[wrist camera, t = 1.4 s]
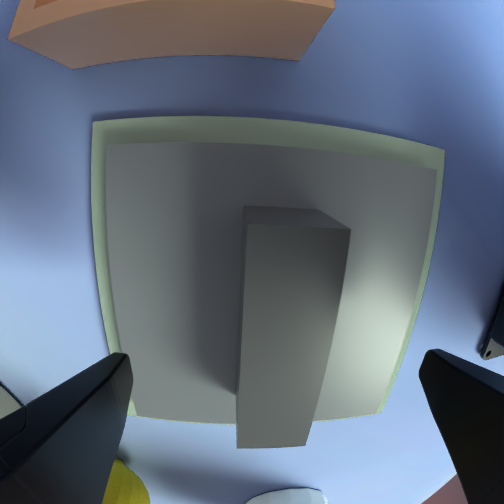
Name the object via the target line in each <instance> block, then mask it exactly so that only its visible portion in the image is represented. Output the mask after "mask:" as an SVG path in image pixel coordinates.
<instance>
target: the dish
mask: <svg viewBox="0 0 504 504" xmlns="http://www.w3.org/2000/svg"><path fill="white" fill-rule="evenodd" d="M334 9H335V0H20V2H19V5H18V8H17V11H16V14H15V17H14V20H13V23H12V26H11V30H10V33H9V37H8V40H9V41H12V42H14V43H16V44H19V45H21V46H23V47H26V48H28V49H30V50H32V51H35V52H37V53H39V54H41V55H43V56H46V57H48V58H50V59H52V60H54V61H56V62H58V63H60V64H62V65H64V66H66V67H69V68H71V69H78V68H83V67H88V66H93V65H99V64H105V63H111V62H118V61H125V60H134V59H143V58H154V57H168V56H190V55H228V56H250V57H265V58H276V59H285V60H294V61H299V60H300V58H301V57H302V55H303V54H304V52H305V51H306V49H307V48H308V46H309V45H310V43H311V42H312V41H313V39H314V38H315V36H316V35H317V33H318V32H319V30H320V29H321V28H322V26H323V25H324V23H325V22H326V20H327V19H328V18H329V16H330V15H331V13H332V12H333V11H334Z"/></svg>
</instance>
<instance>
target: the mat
mask: <svg viewBox="0 0 504 504" xmlns="http://www.w3.org/2000/svg"><path fill="white" fill-rule="evenodd" d="M158 142H214V143H242V144H260V145H274V146H286V147H297V148H307V149H317V150H325V151H333V152H341V153H348V154H355V155H362V156H368V157H375V158H381V159H386V160H392V161H397V162H403V163H408V164H413V165H418V166H422V167H427V168H431V169H436V170H437V178H436V188H435V197H434V205H433V213H432V220H431V226H430V232H429V238H428V244H427V249H426V254H425V259H424V264H423V269H422V274H421V278H420V282H419V287H418V291H417V295H416V299H415V302H414V306H413V310H412V313H411V317H410V321H409V324H408V327H407V331H406V334H405V337H404V340H403V343H402V346H401V349H400V352H399V355H398V358H397V361H396V364H395V367H394V370H393V372H392V375H391V378H390V380H389V383H388V385H387V388H386V391H385V393H384V396H383V398H382V400H381V403H380V405H379V408H378V410H377V412H376V413H375V414H379V413H382V411H383V408H384V406H385V404H386V401H387V399H388V397H389V394H390V392H391V389H392V387H393V384H394V382H395V379H396V377H397V374H398V372H399V369H400V366H401V363H402V361H403V358H404V355H405V352H406V349H407V346H408V343H409V340H410V337H411V334H412V331H413V328H414V324H415V321H416V318H417V314H418V311H419V307H420V303H421V300H422V296H423V292H424V288H425V284H426V280H427V275H428V271H429V266H430V262H431V257H432V252H433V246H434V241H435V235H436V229H437V223H438V216H439V209H440V202H441V193H442V184H443V173H444V159H445V149H441V148H438V147H434V146H430V145H426V144H422V143H418V142H414V141H410V140H406V139H401V138H397V137H392V136H388V135H383V134H378V133H373V132H367V131H362V130H356V129H350V128H344V127H337V126H331V125H324V124H316V123H308V122H299V121H289V120H279V119H266V118H251V117H231V116H160V117H140V118H126V119H114V120H103V121H94V122H93V129H92V149H91V206H92V227H93V241H94V253H95V263H96V272H97V281H98V288H99V295H100V302H101V308H102V314H103V320H104V326H105V331H106V336H107V341H108V346H109V351H110V354H112V353H114V352H120V353H122V349H121V344H120V338H119V333H118V327H117V320H116V314H115V307H114V300H113V292H112V284H111V274H110V264H109V253H108V239H107V221H106V145H114V144H131V143H158ZM127 415H130V416H137V414H136V410H135V406H134V403H133V399H132V395H131V397H130V402H129V407H128V412H127ZM369 415H373V414H369ZM362 416H367V415H362ZM137 417H142V416H137ZM356 417H361V416H356ZM144 418H150V417H144ZM348 418H354V417H348ZM151 419H157V418H151ZM340 419H347V418H340ZM159 420H166V419H159ZM332 420H339V419H332ZM168 421H176V420H168ZM322 421H330V420H322ZM177 422H187V421H177ZM312 422H320V421H312ZM189 423H201V422H189ZM203 424H221V423H203ZM225 425H236V424H225Z"/></svg>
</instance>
